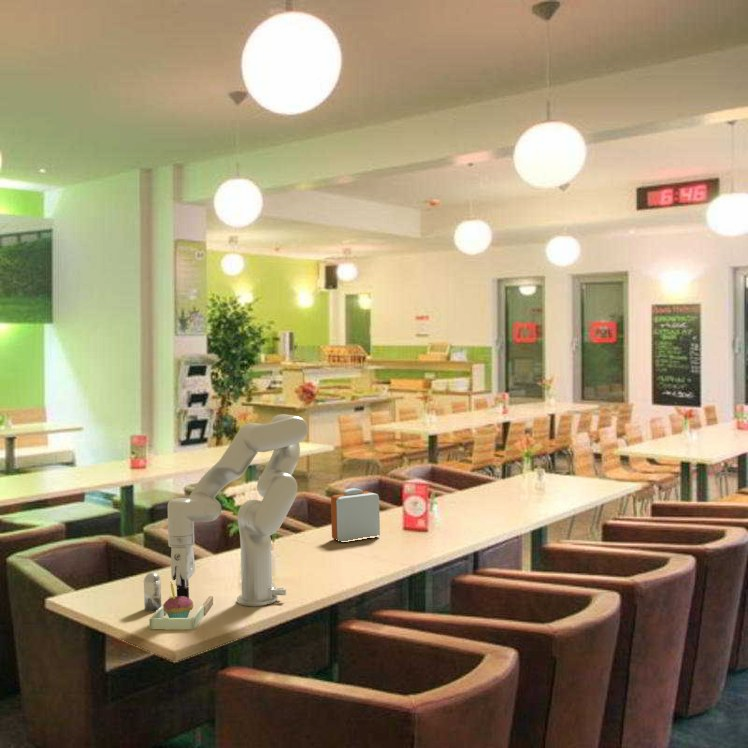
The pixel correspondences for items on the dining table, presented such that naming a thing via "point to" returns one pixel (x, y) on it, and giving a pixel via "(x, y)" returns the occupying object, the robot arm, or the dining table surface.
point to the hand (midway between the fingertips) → (183, 600)
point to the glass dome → (152, 592)
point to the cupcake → (178, 606)
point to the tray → (175, 620)
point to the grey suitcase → (355, 515)
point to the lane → (207, 604)
